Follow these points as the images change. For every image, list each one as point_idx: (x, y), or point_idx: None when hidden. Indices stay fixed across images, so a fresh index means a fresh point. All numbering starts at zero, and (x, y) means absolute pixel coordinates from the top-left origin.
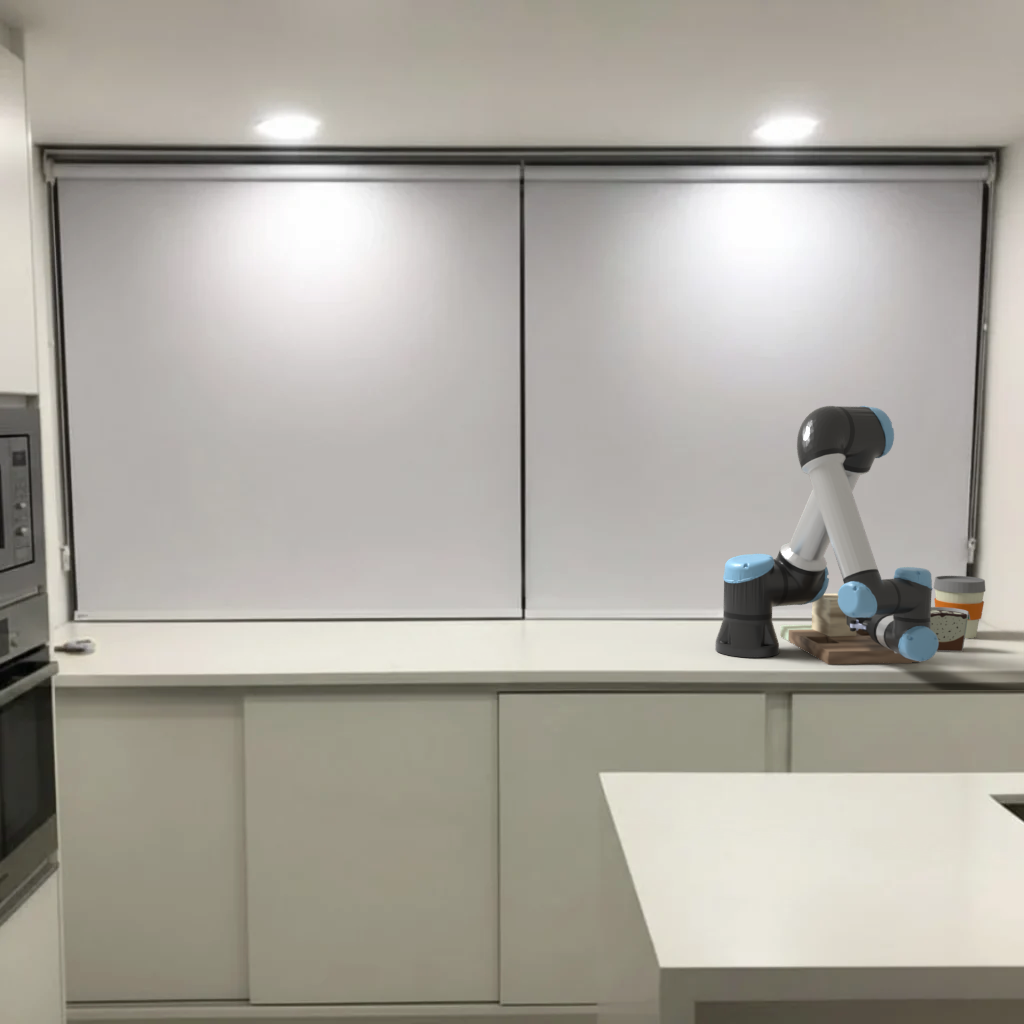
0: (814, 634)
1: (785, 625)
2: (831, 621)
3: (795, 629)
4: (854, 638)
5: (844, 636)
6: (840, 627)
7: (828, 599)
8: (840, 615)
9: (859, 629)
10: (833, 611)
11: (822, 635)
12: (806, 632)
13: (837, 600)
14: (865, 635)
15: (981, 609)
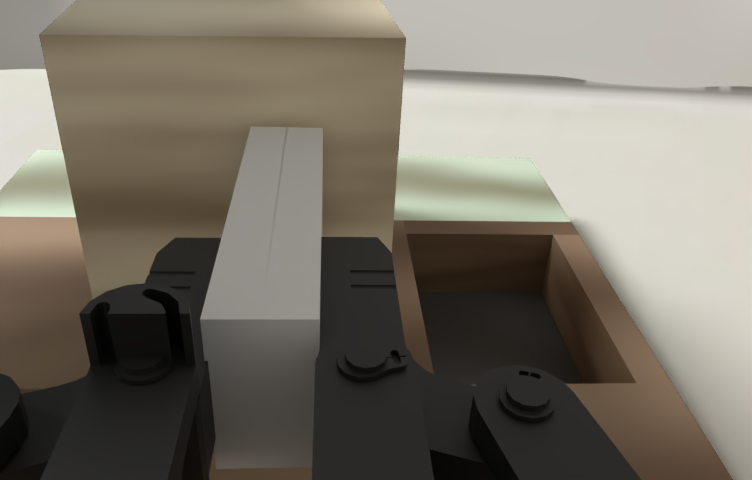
0: (33, 326)
1: (61, 154)
2: (100, 268)
3: (31, 214)
4: (311, 476)
5: None
6: None
7: (67, 15)
8: (201, 209)
9: (481, 234)
10: (105, 167)
11: (73, 357)
12: (28, 275)
13: (135, 37)
14: (518, 270)
15: None
